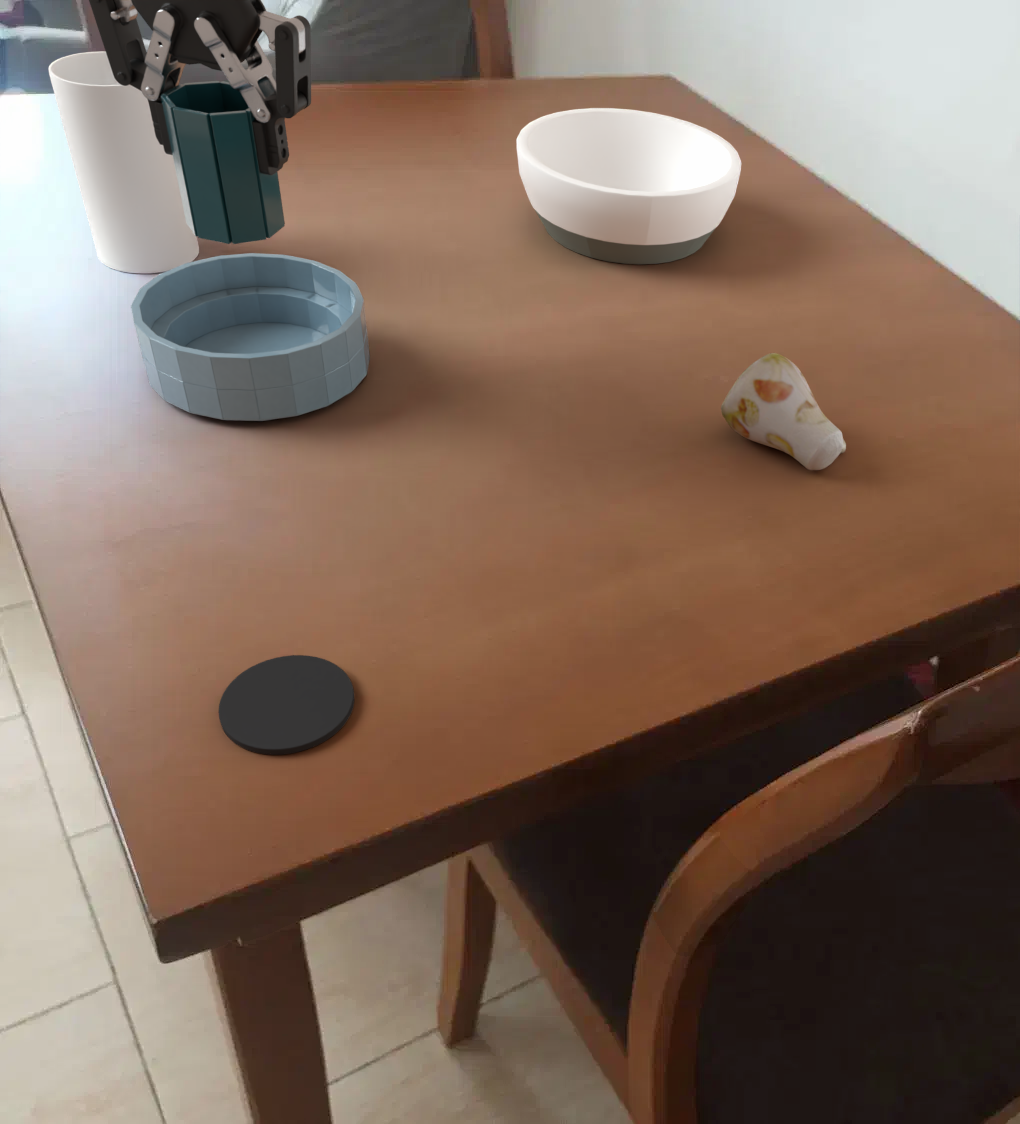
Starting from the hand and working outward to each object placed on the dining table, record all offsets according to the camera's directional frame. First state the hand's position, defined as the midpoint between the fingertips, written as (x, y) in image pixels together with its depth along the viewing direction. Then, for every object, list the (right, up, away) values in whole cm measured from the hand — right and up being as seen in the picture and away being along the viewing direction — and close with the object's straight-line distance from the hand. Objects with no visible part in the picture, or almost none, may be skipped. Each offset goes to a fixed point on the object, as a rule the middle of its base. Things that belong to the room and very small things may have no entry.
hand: (225, 160), depth 78 cm
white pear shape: (+40, -19, +12) cm, 46 cm away
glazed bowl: (-2, -13, +11) cm, 17 cm away
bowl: (+24, +7, +39) cm, 46 cm away
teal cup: (-1, -4, +3) cm, 5 cm away
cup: (-17, 0, +23) cm, 29 cm away
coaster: (+10, -36, -14) cm, 40 cm away
